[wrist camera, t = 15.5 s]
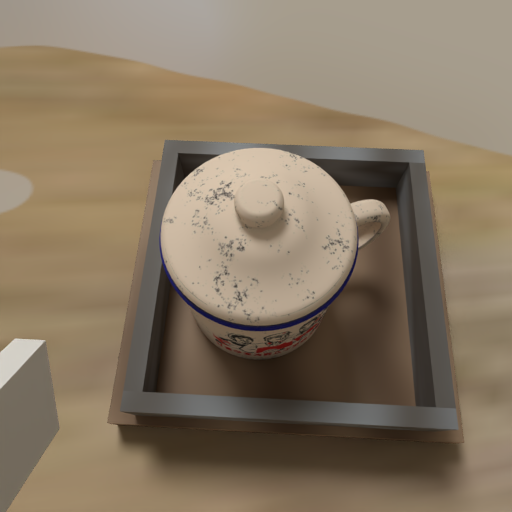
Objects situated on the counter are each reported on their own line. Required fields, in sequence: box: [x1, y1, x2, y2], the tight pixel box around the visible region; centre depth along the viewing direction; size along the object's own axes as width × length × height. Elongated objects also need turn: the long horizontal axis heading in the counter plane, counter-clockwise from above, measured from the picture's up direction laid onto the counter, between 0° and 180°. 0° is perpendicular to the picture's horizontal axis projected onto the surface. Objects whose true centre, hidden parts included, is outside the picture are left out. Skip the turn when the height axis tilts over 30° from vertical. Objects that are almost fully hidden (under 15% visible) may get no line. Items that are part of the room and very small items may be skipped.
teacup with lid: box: [159, 148, 390, 360], centre depth 23 cm, size 12×9×12 cm
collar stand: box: [107, 140, 464, 443], centre depth 27 cm, size 20×18×5 cm
